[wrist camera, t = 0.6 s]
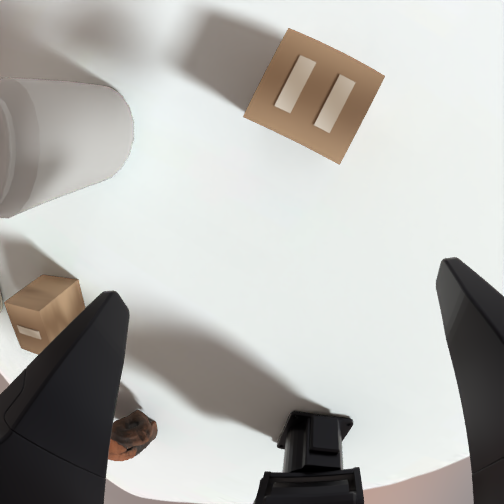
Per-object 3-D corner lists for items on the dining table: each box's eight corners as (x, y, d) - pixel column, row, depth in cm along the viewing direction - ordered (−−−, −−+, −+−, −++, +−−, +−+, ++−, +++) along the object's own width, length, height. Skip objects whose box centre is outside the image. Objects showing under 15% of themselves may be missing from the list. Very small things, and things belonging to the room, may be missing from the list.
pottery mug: (137, 442, 36) (89, 465, 29) (109, 380, 38) (57, 397, 31) (189, 447, 29) (129, 481, 23) (153, 369, 31) (86, 394, 24)
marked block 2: (90, 325, 28) (56, 361, 23) (54, 317, 29) (20, 348, 23) (78, 279, 26) (38, 312, 21) (42, 274, 27) (2, 302, 21)
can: (50, 139, 22) (-66, 165, 11) (100, 67, 19) (-25, 50, 8) (101, 200, 23) (-14, 257, 12) (159, 128, 21) (37, 140, 9)
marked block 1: (328, 155, 20) (339, 165, 14) (258, 120, 20) (242, 116, 14) (362, 89, 18) (386, 74, 12) (292, 54, 18) (289, 25, 12)
